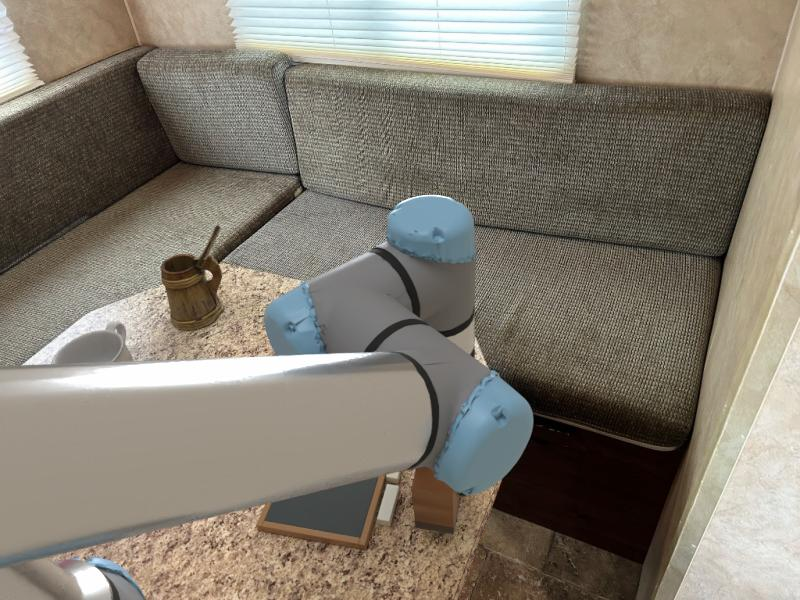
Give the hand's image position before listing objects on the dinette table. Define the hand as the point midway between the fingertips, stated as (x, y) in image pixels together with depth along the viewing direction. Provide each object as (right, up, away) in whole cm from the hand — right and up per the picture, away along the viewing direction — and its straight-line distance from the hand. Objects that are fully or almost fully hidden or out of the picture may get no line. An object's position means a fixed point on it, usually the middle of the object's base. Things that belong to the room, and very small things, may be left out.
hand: (443, 482), depth 75 cm
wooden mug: (-40, +20, +34) cm, 56 cm away
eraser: (0, -1, +1) cm, 1 cm away
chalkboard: (-14, -1, +5) cm, 15 cm away
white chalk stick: (-7, +1, +6) cm, 9 cm away
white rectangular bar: (-8, -3, +1) cm, 8 cm away
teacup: (-51, +9, +23) cm, 57 cm away
